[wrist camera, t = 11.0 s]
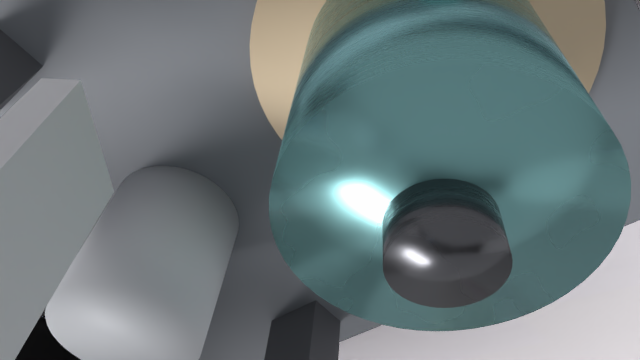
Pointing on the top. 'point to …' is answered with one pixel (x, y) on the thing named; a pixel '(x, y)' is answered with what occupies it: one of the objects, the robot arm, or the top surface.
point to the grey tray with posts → (224, 164)
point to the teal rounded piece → (443, 165)
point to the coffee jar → (43, 345)
